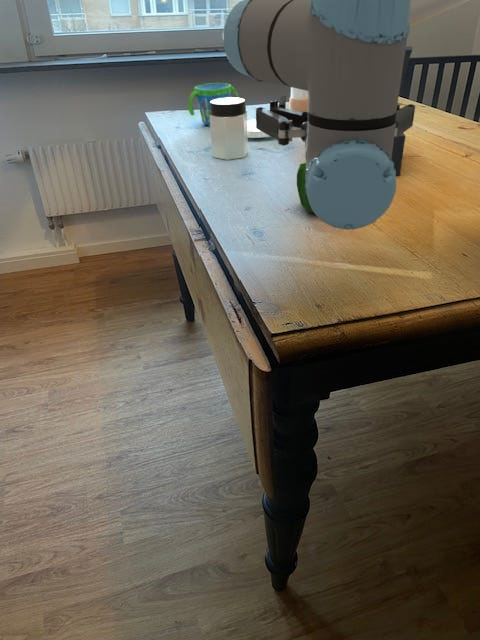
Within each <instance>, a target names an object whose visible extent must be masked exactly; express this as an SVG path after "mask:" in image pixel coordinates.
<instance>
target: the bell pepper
mask: <svg viewBox="0 0 480 640" xmlns="http://www.w3.org/2000/svg"><path fill="white" fill-rule="evenodd" d="M305 174H306V162H303V163H300V164H299V167H298V168H297V170H296V188H297V193H298V197H299V201H300V204H301V206H302V208H304V209H305V210H306V211H307V212H308V213H310V214H315V213H314V212H313V210H312V208H311V206H310V204H309V200H308V197H307V194H306V193H305Z"/></svg>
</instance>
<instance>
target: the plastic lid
mask: <svg viewBox="0 0 480 640" xmlns="http://www.w3.org/2000/svg"><path fill="white" fill-rule="evenodd" d="M247 132H248V138H250V139H251V138H253V139H254V138H256V139H257V138H261V139H262V138H269V137H271V136H269V135H267V134H266V133H264V132H262V131H260V130H258V129H257V128H256V118H253V119H247ZM271 138H272V137H271Z"/></svg>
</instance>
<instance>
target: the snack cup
mask: <svg viewBox="0 0 480 640" xmlns="http://www.w3.org/2000/svg"><path fill="white" fill-rule="evenodd" d="M231 92H232V95H233V97H232V98H239V94H238V91H237V89H236V87H234V86H232V84H231V83H228V82H227V83H226V82H208V83H202V84H198V85H196V86H194V90H193V91H191V93H190V95H189V98H188V104H187V105H188V112H189V114H190V115H191V116H195V111H194V107H193V100H194V99H195V98H196V99H197V105H198V109H199V113H200V118H201V121H202V124H203V126H208V127H210V115H211V112H210V102H211V101H212V100H215V99H220V98H231ZM195 96H196V97H195Z"/></svg>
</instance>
